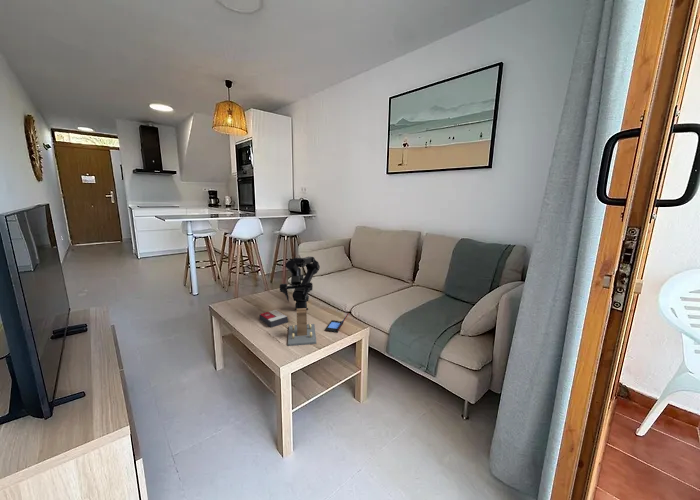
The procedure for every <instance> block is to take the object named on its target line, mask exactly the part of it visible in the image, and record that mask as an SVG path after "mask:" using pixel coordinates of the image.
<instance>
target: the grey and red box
mask: <svg viewBox="0 0 700 500" xmlns="http://www.w3.org/2000/svg"><path fill="white" fill-rule="evenodd" d="M258 315H259V317H258V318H259V320H260V321H261V322H263V323H264V324H265V325H266V326H268V327H269V328H271V329H272V328H275V327H277V326H280V325H284V324H287V323H289V317H288V316H287V315H285V314H284V313H282V312H281V311H279V310H277V309H273V310H269V311H265V312H263V313H260V314H258Z"/></svg>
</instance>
